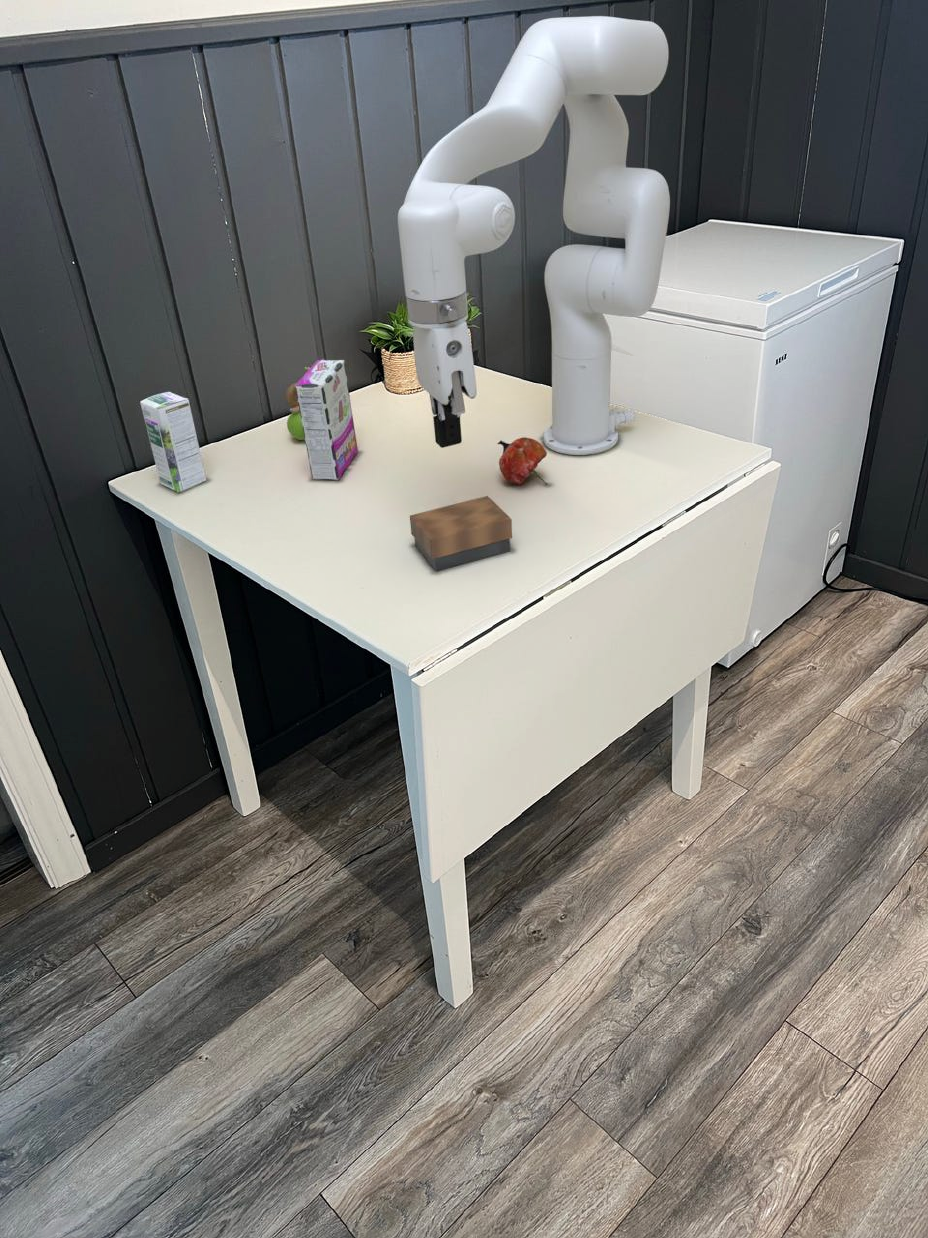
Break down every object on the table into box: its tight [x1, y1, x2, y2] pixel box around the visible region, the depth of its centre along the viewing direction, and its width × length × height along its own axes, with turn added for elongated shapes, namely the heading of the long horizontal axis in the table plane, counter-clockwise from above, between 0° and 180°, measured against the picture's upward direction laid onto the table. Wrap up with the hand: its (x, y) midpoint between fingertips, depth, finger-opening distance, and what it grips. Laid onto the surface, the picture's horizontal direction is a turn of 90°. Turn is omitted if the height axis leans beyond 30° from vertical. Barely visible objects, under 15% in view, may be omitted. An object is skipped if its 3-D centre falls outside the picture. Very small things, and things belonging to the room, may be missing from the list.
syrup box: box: [139, 391, 207, 493], centre depth 152 cm, size 6×6×14 cm
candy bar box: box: [295, 359, 359, 481], centre depth 154 cm, size 11×5×16 cm, turn 168°
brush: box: [409, 495, 513, 572], centre depth 132 cm, size 12×5×8 cm
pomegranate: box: [497, 436, 548, 486], centre depth 148 cm, size 7×7×10 cm
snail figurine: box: [285, 366, 311, 441], centre depth 165 cm, size 5×6×12 cm
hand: (448, 443), depth 128 cm, fingers closed
